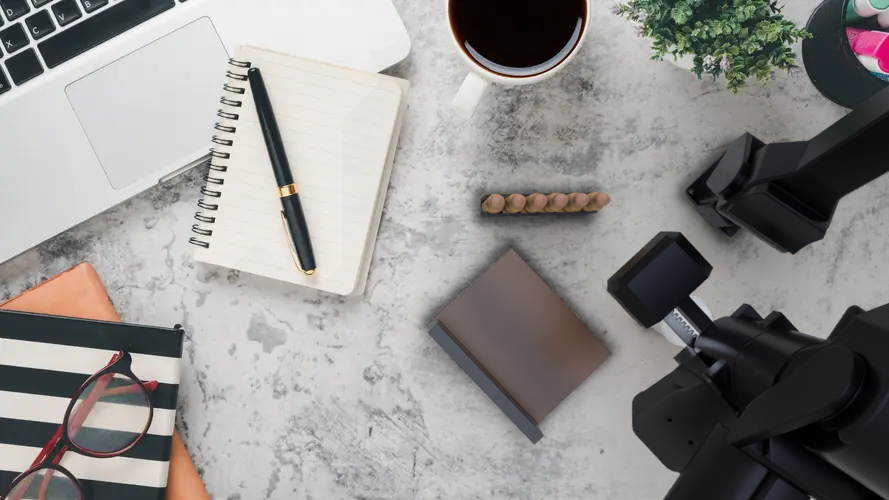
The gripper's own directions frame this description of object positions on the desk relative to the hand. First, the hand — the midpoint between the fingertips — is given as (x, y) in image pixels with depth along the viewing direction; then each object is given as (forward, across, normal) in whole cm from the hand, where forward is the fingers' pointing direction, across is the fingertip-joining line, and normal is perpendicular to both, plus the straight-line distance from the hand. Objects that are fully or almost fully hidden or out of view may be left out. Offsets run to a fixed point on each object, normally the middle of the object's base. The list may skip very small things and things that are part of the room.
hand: (686, 335), depth 54 cm
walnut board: (+11, -7, -11) cm, 17 cm away
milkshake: (+12, +1, +2) cm, 12 cm away
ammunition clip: (+12, -16, 0) cm, 20 cm away
